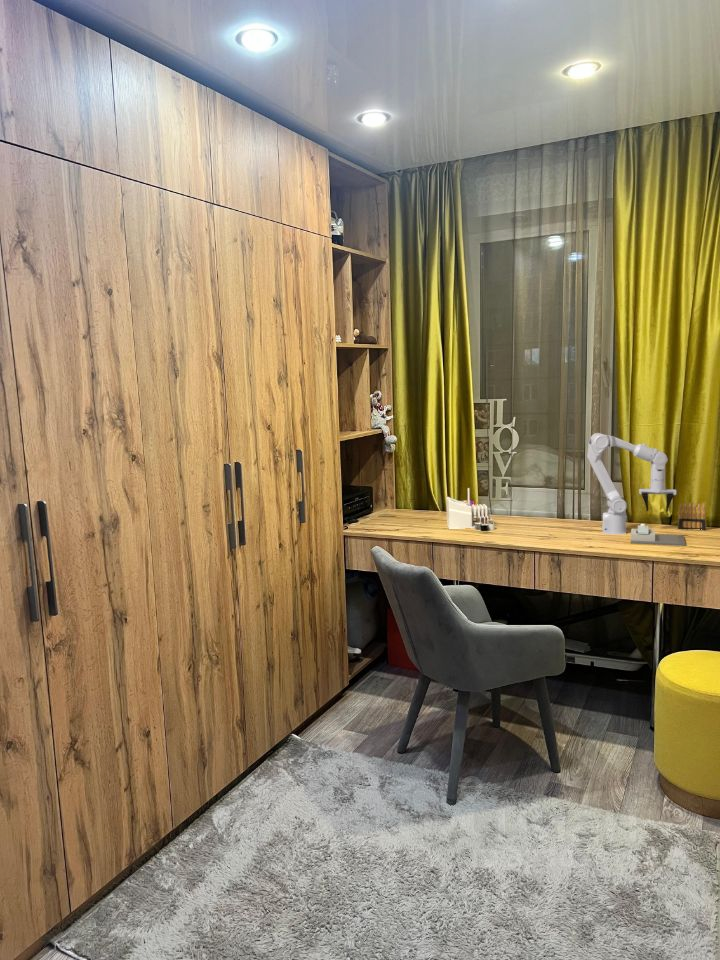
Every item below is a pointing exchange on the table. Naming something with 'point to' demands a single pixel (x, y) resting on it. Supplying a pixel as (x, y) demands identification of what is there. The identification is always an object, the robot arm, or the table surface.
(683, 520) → the ammunition clip
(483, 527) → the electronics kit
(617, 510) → the robot arm
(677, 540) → the servo chassis
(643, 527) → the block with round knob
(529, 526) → the table surface
